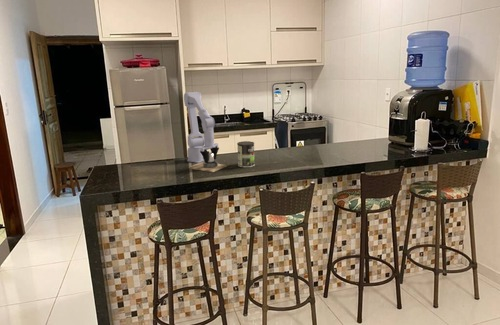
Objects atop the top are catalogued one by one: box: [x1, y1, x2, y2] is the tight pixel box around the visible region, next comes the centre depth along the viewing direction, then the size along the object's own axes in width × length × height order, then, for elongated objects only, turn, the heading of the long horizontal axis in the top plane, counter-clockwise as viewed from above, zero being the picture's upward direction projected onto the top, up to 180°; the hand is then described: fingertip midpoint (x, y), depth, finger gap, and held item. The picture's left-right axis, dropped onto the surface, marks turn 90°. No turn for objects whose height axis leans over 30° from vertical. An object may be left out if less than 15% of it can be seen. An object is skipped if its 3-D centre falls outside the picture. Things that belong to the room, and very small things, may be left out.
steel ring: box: [202, 160, 219, 168], centre depth 221 cm, size 8×8×2 cm
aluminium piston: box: [207, 152, 215, 164], centre depth 220 cm, size 4×4×8 cm
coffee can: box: [236, 140, 256, 168], centre depth 223 cm, size 10×10×14 cm
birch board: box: [188, 161, 228, 173], centre depth 222 cm, size 18×14×1 cm
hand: (210, 160), depth 220 cm, fingers open, 7 cm apart
